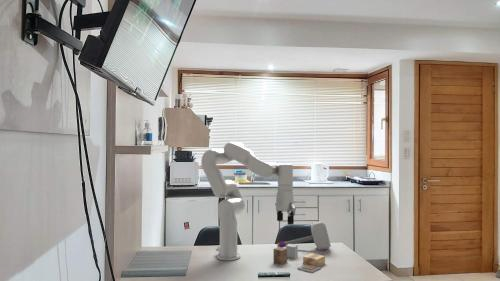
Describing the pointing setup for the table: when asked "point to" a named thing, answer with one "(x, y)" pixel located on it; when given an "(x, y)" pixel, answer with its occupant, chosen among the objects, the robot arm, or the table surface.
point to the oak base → (314, 259)
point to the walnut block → (280, 255)
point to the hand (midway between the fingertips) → (285, 222)
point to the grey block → (292, 250)
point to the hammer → (313, 237)
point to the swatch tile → (309, 268)
